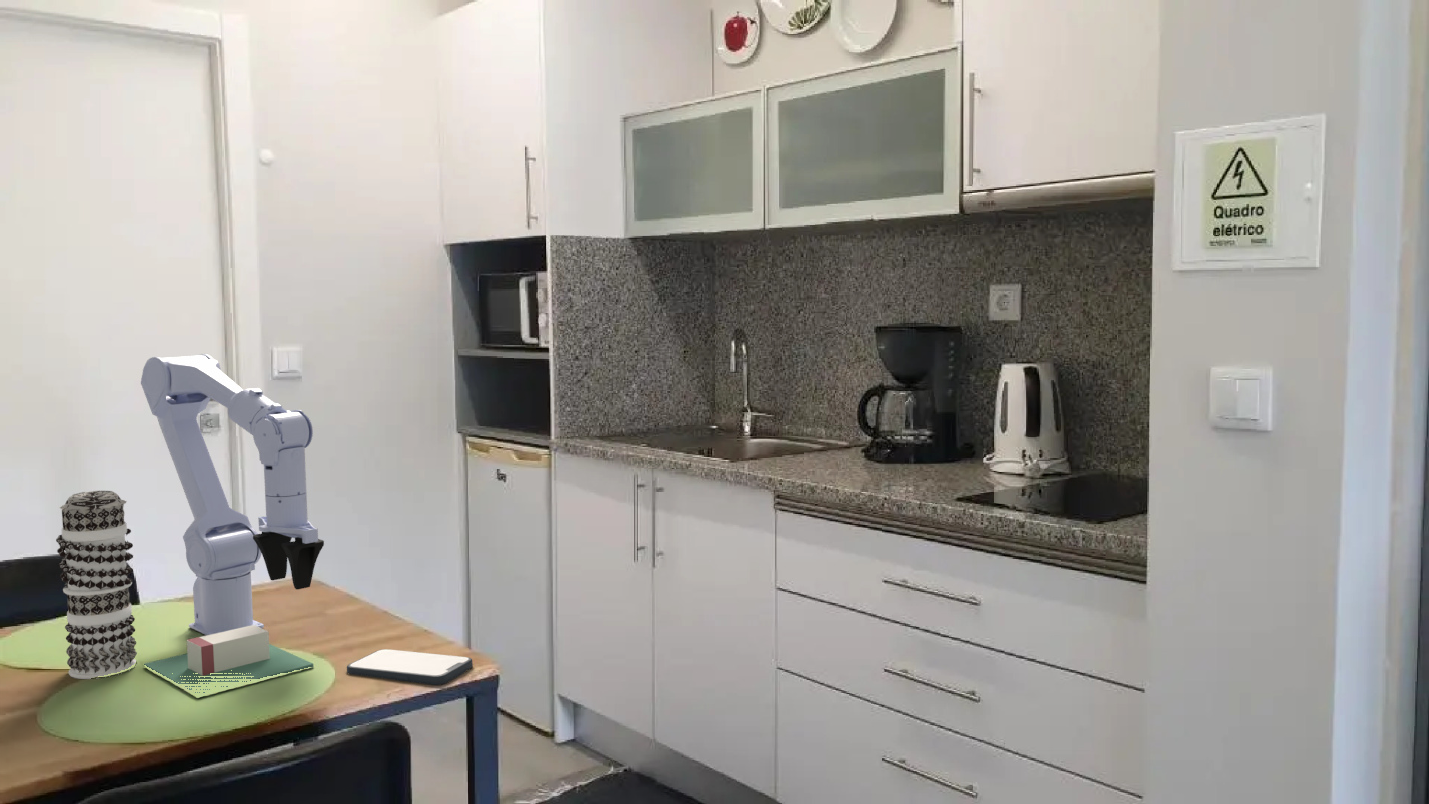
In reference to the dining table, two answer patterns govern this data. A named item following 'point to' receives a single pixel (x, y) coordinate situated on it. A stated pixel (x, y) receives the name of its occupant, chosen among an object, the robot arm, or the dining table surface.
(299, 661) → the card mat
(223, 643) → the card deck
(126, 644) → the decorative candle
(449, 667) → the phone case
